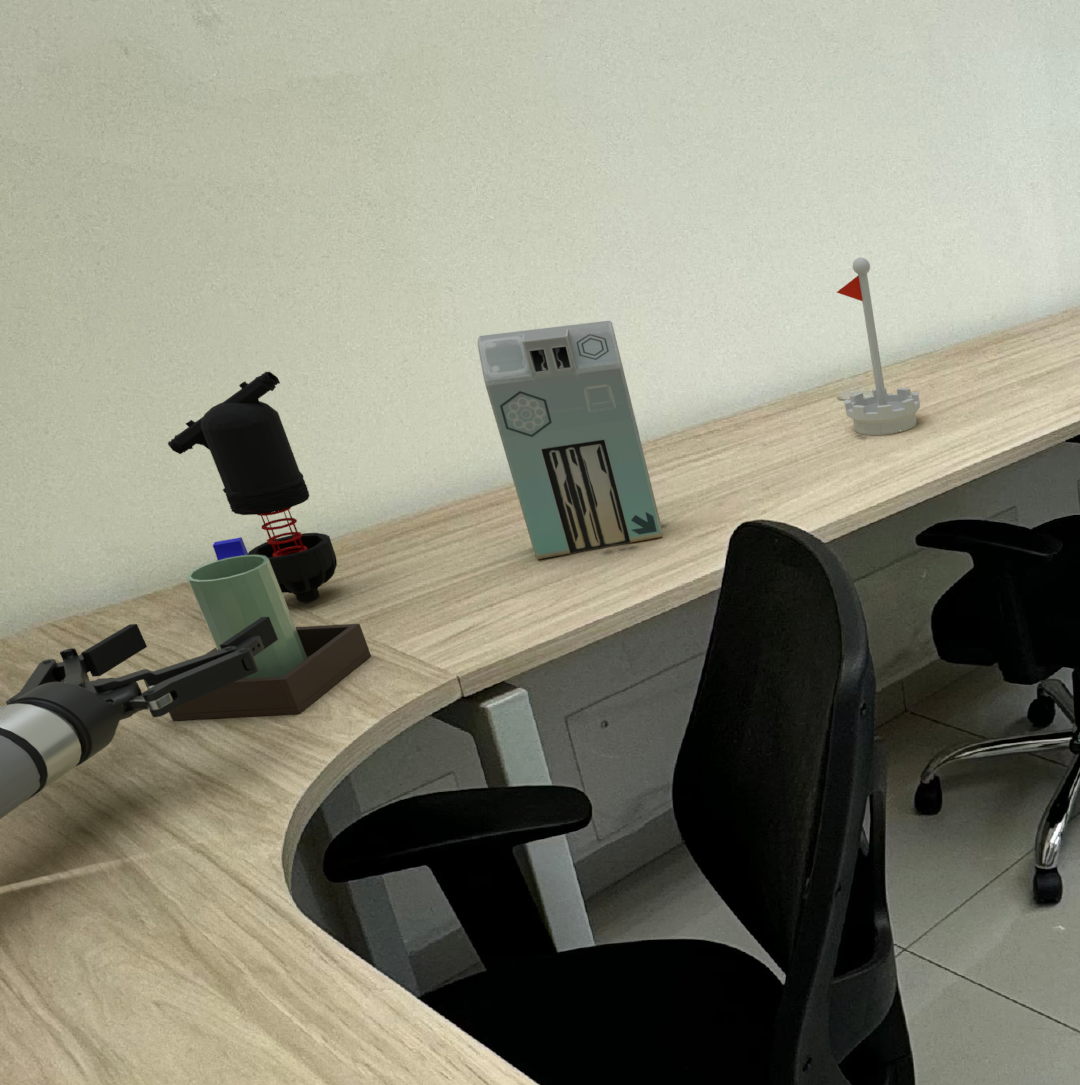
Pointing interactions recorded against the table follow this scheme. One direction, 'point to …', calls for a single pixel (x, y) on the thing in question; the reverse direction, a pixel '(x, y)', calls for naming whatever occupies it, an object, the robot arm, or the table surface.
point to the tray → (287, 678)
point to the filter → (263, 482)
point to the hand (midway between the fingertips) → (204, 631)
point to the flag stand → (877, 375)
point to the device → (570, 437)
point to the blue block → (229, 548)
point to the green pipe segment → (247, 608)
